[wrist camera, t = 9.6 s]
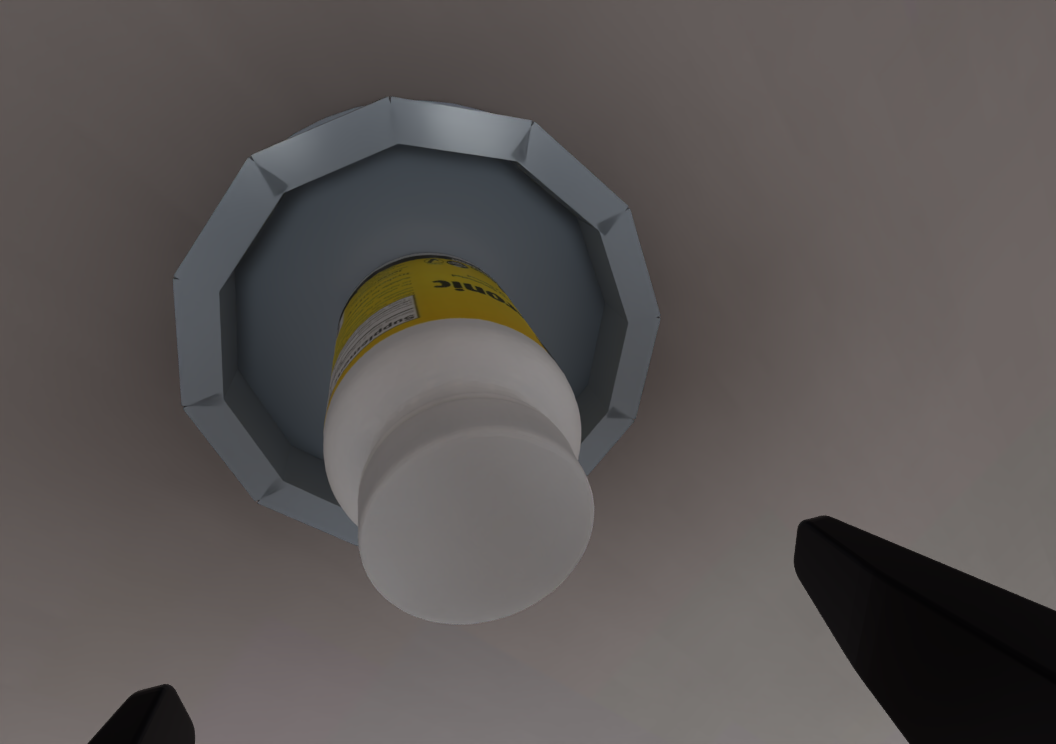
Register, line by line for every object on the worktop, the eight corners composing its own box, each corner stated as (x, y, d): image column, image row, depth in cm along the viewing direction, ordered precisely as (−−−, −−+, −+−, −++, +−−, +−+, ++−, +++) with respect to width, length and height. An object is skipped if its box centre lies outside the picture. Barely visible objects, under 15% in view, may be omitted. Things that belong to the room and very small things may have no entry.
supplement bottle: (547, 336, 20) (690, 525, 11) (424, 442, 20) (466, 703, 11) (434, 207, 17) (501, 319, 8) (296, 332, 18) (227, 558, 9)
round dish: (470, 548, 23) (482, 602, 21) (113, 381, 18) (72, 427, 15) (696, 277, 21) (740, 302, 18) (365, -17, 15) (364, -38, 13)
